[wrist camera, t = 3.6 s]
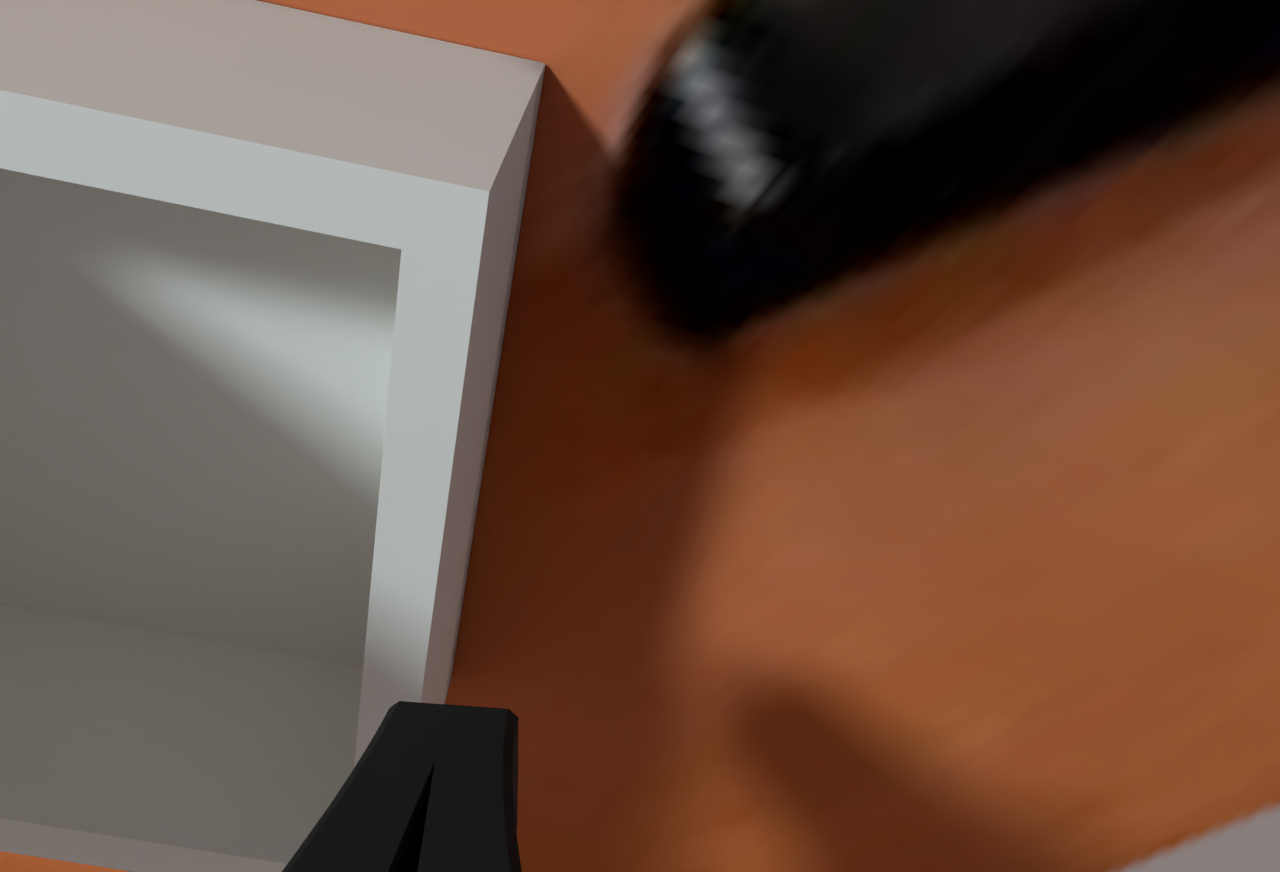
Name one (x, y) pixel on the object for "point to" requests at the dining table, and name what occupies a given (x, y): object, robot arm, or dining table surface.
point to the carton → (236, 408)
